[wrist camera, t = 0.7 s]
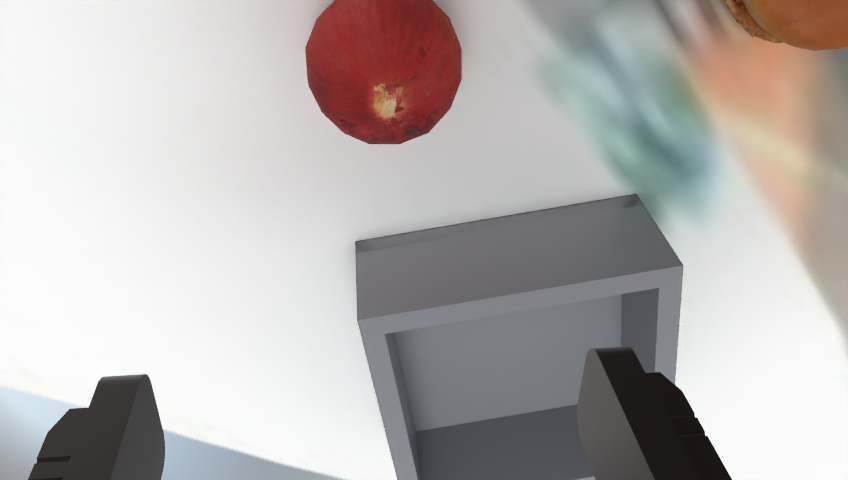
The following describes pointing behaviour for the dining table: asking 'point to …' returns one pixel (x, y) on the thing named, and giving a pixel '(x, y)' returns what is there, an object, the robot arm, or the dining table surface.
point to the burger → (795, 21)
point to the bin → (510, 333)
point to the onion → (384, 67)
